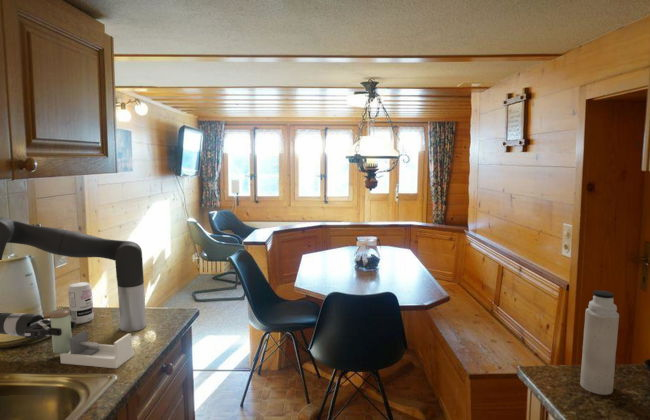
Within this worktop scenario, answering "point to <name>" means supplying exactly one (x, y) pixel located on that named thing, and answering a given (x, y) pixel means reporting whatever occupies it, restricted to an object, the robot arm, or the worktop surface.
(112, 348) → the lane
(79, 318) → the supplement can
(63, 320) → the jar
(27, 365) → the worktop surface
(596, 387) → the thermos bottle
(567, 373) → the worktop surface
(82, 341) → the pusher
